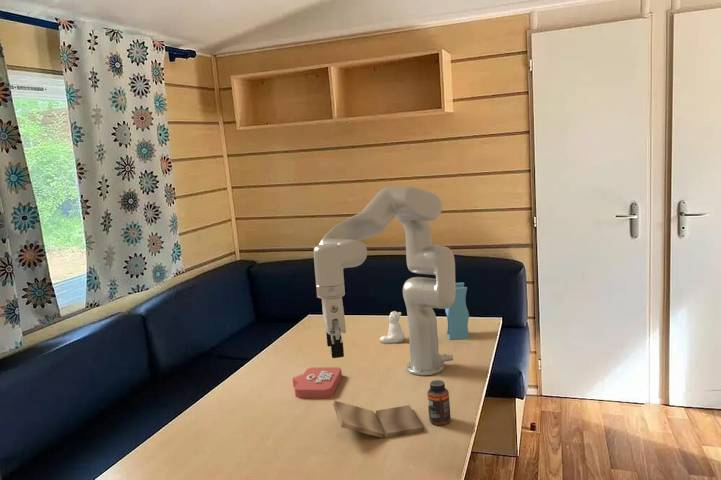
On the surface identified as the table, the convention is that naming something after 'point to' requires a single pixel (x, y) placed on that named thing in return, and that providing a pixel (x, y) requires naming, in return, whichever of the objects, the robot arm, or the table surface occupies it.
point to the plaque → (317, 382)
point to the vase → (458, 315)
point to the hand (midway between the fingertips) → (335, 351)
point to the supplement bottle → (438, 403)
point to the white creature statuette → (393, 330)
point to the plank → (358, 419)
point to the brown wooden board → (398, 421)
